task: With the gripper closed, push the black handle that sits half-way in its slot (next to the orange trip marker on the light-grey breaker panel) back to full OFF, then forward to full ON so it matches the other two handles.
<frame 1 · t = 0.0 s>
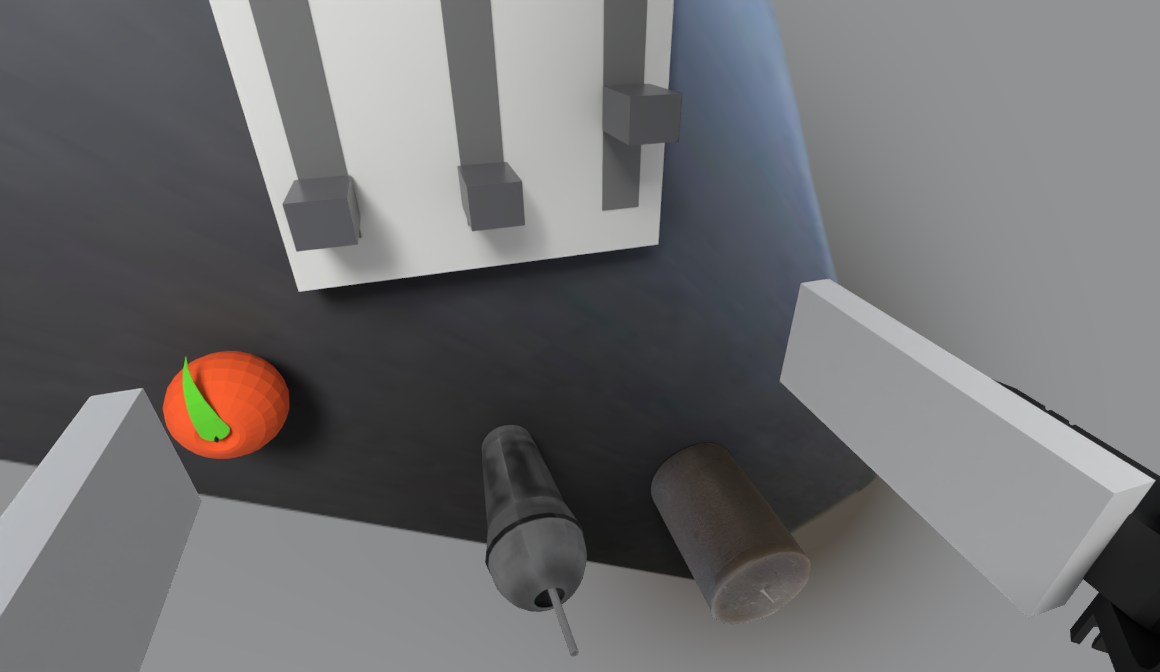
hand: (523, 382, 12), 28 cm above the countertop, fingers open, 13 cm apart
pillar candle: (690, 476, 59), on the countertop
breaker panel: (470, 107, 35), on the countertop
tripped handle: (639, 113, 32), point 6 cm above the countertop, slide at 4.0 cm
clementine: (237, 367, 39), on the countertop
beverage cup: (506, 443, 49), on the countertop
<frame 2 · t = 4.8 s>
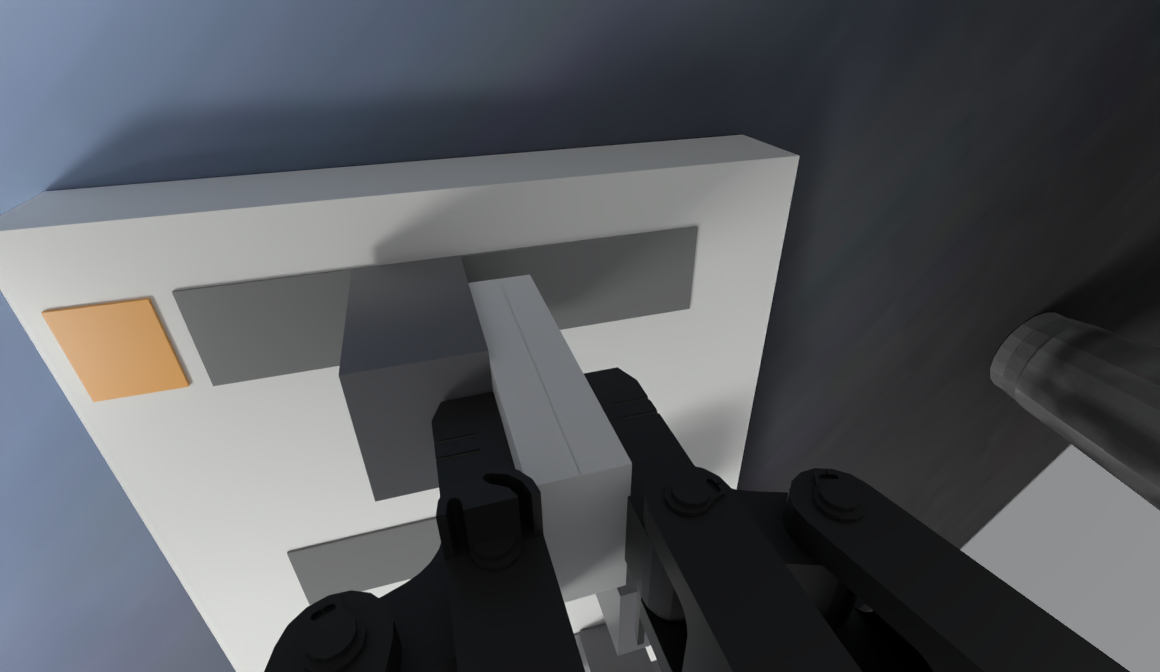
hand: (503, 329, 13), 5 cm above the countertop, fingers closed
breaker panel: (486, 469, 22), on the countertop
tripped handle: (422, 364, 12), point 6 cm above the countertop, slide at 2.6 cm, touching gripper
beverage cup: (1023, 349, 29), on the countertop
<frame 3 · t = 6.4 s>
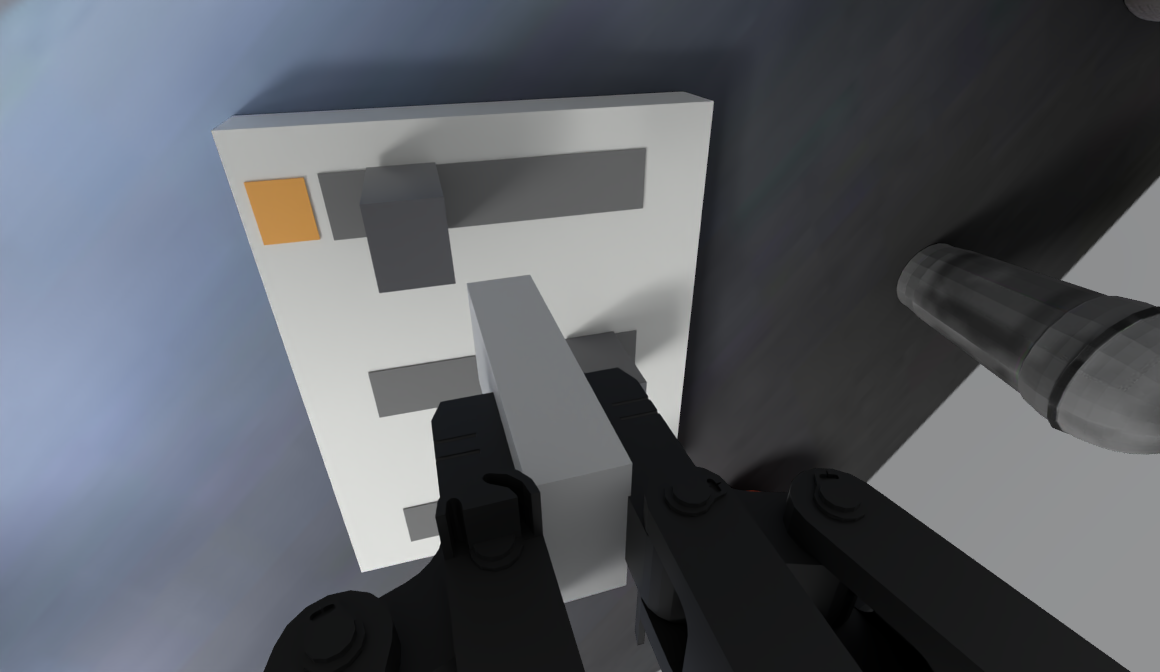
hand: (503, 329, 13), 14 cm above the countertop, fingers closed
breaker panel: (501, 341, 30), on the countertop
tripped handle: (409, 223, 20), point 6 cm above the countertop, slide at 0.5 cm
beverage cup: (924, 274, 36), on the countertop
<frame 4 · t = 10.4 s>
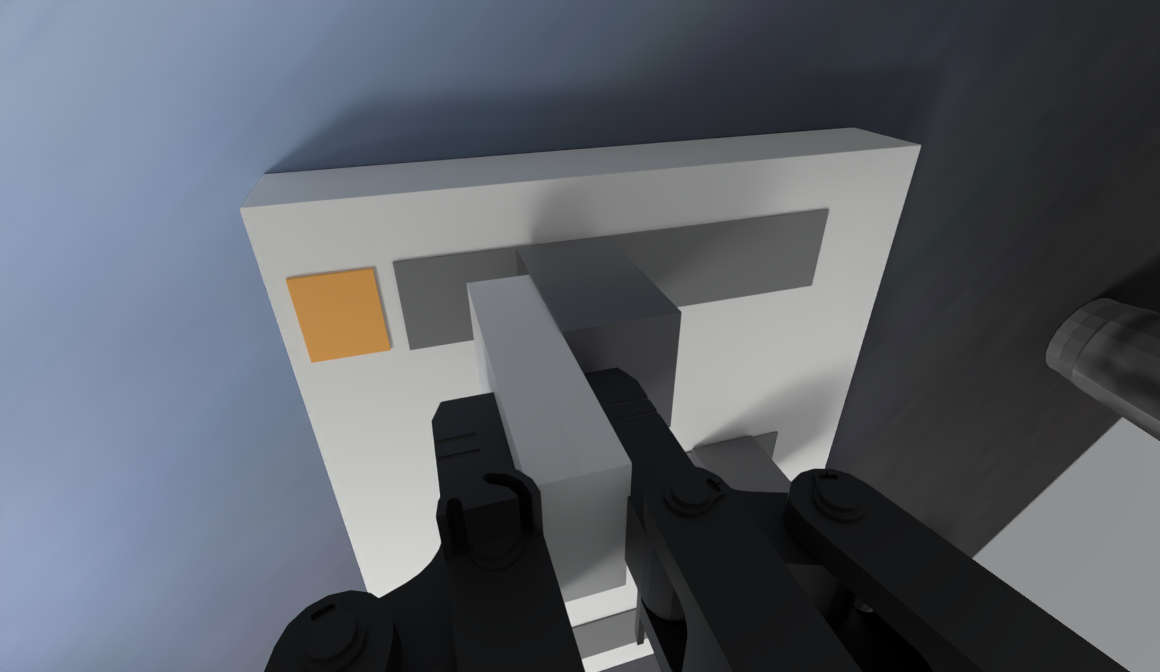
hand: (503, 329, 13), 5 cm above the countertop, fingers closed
breaker panel: (596, 440, 23), on the countertop
tripped handle: (588, 331, 13), point 6 cm above the countertop, slide at 1.8 cm, touching gripper
beverage cup: (1076, 333, 31), on the countertop
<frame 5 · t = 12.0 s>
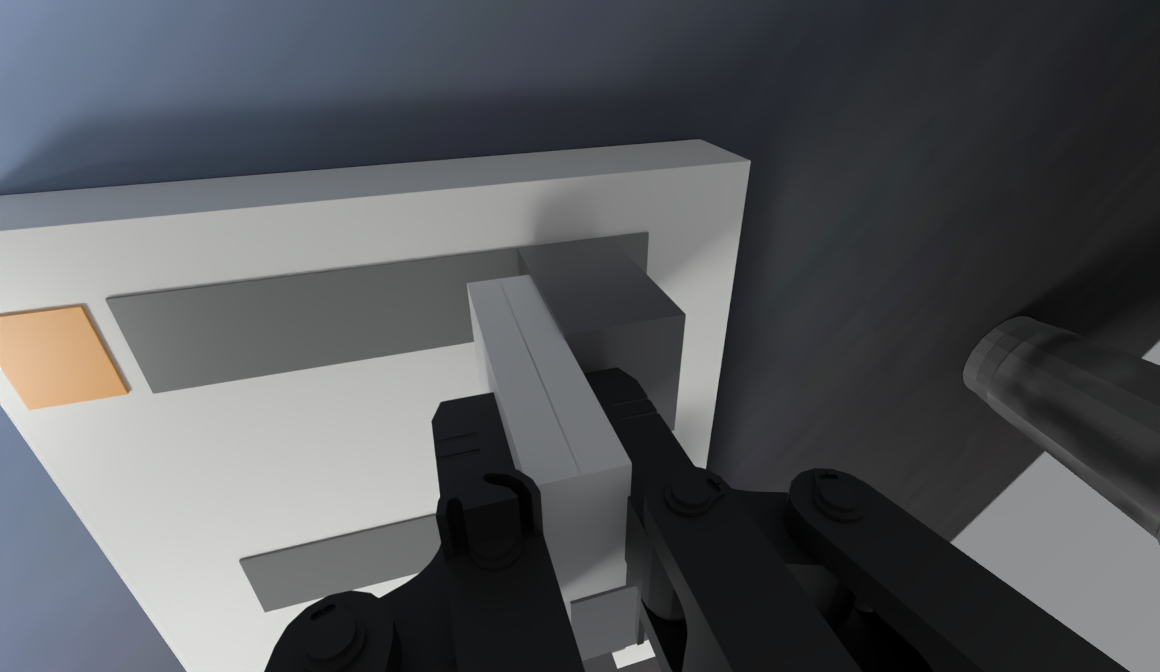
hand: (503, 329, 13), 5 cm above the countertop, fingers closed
breaker panel: (450, 474, 22), on the countertop
tripped handle: (591, 333, 13), point 6 cm above the countertop, slide at 7.9 cm, touching gripper
beverage cup: (996, 352, 29), on the countertop
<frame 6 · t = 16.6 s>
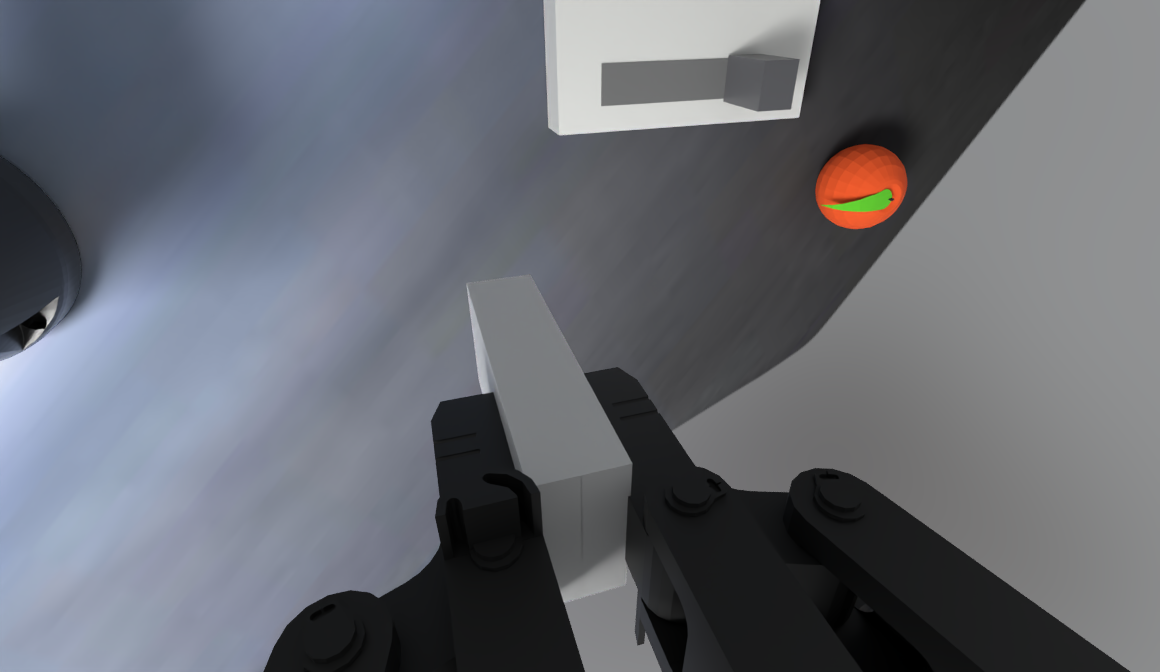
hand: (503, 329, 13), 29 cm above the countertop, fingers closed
clementine: (825, 177, 50), on the countertop
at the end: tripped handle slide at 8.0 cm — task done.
